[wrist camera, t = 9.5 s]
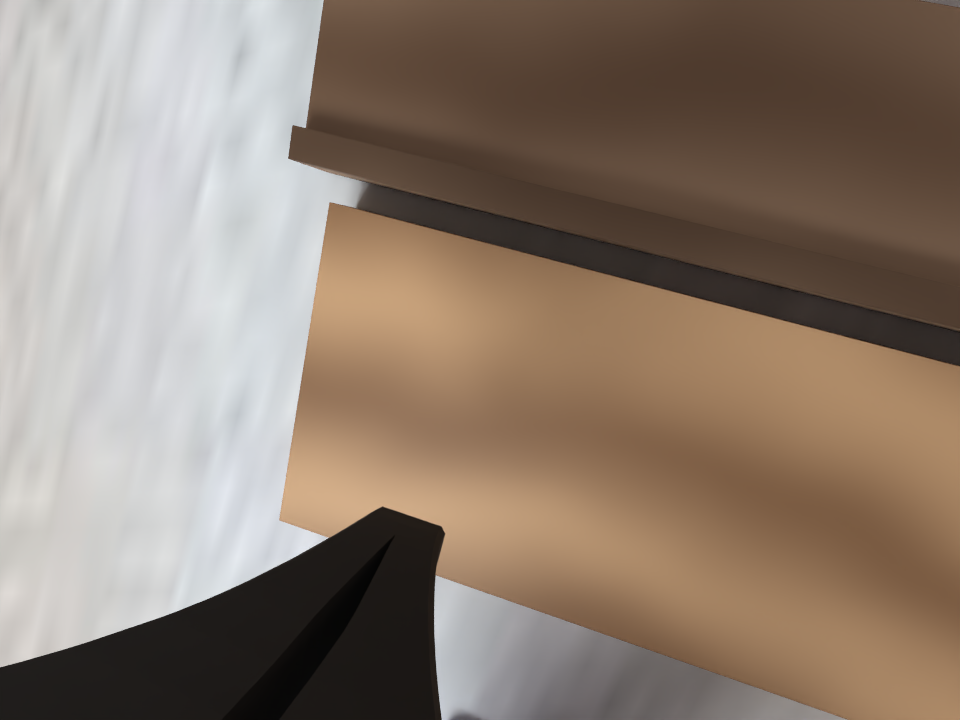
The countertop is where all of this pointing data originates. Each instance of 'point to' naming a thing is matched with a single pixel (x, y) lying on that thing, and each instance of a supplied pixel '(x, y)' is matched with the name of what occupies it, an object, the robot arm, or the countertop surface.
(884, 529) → the teak plank
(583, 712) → the countertop surface
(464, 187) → the walnut board
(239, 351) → the countertop surface
